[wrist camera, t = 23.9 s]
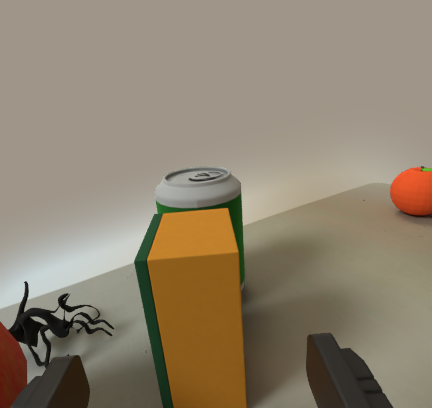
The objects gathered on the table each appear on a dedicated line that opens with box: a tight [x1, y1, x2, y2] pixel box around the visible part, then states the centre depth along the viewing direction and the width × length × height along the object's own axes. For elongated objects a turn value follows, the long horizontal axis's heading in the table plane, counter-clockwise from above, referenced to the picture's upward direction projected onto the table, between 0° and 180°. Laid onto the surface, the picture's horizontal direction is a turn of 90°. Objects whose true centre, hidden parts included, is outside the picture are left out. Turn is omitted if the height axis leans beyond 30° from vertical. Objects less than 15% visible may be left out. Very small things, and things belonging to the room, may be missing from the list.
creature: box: [8, 281, 114, 368], centre depth 22 cm, size 8×5×8 cm
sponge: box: [134, 208, 247, 408], centre depth 18 cm, size 5×6×11 cm
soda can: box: [155, 167, 245, 291], centre depth 26 cm, size 8×8×12 cm
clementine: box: [390, 166, 432, 215], centre depth 40 cm, size 8×7×7 cm
